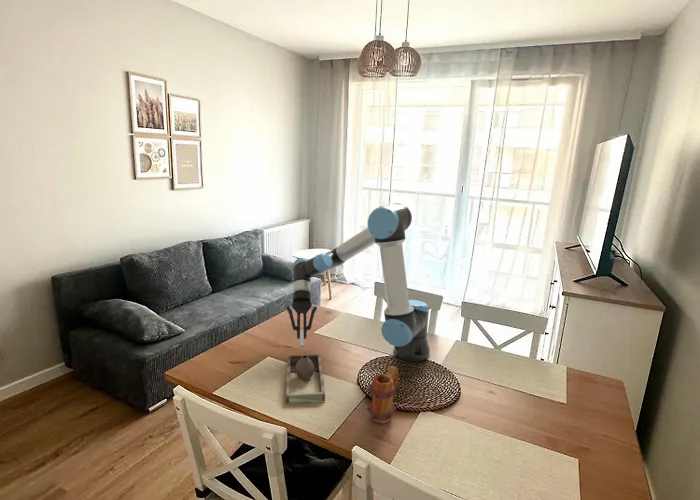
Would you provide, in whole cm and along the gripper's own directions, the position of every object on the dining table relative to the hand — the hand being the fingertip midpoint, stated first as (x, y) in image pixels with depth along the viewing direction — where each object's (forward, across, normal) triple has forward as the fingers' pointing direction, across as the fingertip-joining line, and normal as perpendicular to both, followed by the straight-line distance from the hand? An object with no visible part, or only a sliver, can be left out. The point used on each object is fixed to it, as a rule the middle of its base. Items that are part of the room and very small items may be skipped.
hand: (301, 346), depth 159 cm
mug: (+30, -27, +21) cm, 45 cm away
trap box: (+14, -1, +5) cm, 15 cm away
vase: (+14, -1, +4) cm, 14 cm away
